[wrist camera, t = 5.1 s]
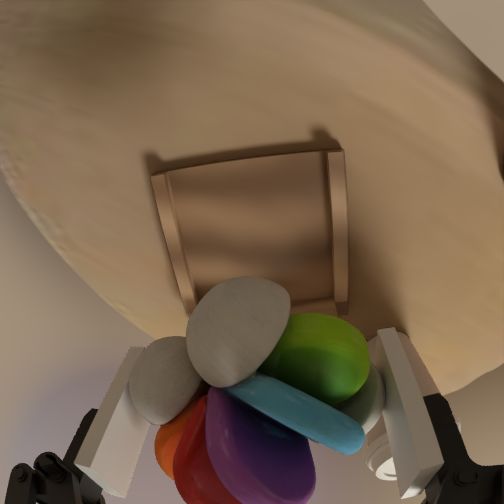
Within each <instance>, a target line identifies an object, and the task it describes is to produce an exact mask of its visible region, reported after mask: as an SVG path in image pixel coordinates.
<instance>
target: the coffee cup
mask: <svg viewBox="0 0 504 504" xmlns="http://www.w3.org/2000/svg"><path fill="white" fill-rule="evenodd" d="M396 332H397V331H396ZM397 334H398V337H399V339H400V341H401V344H402V346H403V349H404V351H405V353H406V356H407V358H408V361H409V363H410V366H411V368H412V371H413V373H414V376H415V379H416V381H417V384H418V386H419V389H420V392H421V394H422V397H423V396H427V395H431V394H435V393H440V392H439V390H438V388H437V386H436V384H435V382H434V381H433V379H432V377H431V375H430V373H429V372H428V370H427V368H426V366H425V365H424V363H423V361H422V359H421V358H420V356H419V354H418V352H417V351H416V349H415V347H414V346H413V344H412V342H411V341H410V339H409V337H408V336H407V335H405V334H404V333H401V332H397ZM376 339H377V336H375V337H373V338H372V339H370V340H369V341H368V342H367V345H368V349H369V354H370V361H371V362H372V363H373V364H374V356H375V348H376ZM440 394H441V393H440ZM452 415H453V414H452ZM453 416H454V418H455V421H456V424H457V426H458V429H459V431H460V432H461V422H460V419H459V417H457V416H456V415H453ZM367 443H368V447H367V449H366V450H365V452H364V456H363V457H364V460H365V462H366V464H367V466H368V467H369V468H370V469H371V470H372V471H374V472H375V475H376V476H377V477H378V478H379V479H382V480H397V477H396V472H395V467H394V462H393V457H392V452H391V447H390V443H389V438H388V434H387V430H386V425H385V421H384V417H383V413H382V414H381V416H380V418H379V419H378V421H377V423H376V424H375V425H374V427H373V428H372V429H371V430H370V431H369V432H368V433H367Z"/></svg>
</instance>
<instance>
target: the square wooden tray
mask: <svg viewBox="0 0 504 504" xmlns="http://www.w3.org/2000/svg"><path fill="white" fill-rule="evenodd" d="M151 182H152V186H153V190H154V195H155V199H156V203H157V207H158V212H159V216H160V220H161V224H162V228H163V231H164V235H165V239H166V243H167V247H168V250H169V254H170V258H171V261H172V265H173V269H174V272H175V276H176V279H177V283H178V286H179V290H180V293H181V296H182V300H183V303H184V306H185V309H186V313H188V315H189V318H190V316H191V314H192V313H193V311H194V309H195V307H196V306H197V305H198V303H199V302H200V300H201V299H202V298H203V297H204V296H205V295H206V294H207V293H208V292H209V291H210V290H211V289H212V288H213V287H214V286H216V285H217V284H219V283H221V282H223V281H225V280H228V279H231V278H236V277H242V276H254V277H260V278H264V279H268V280H270V281H273V282H275V283H277V284H279V285H280V286H282V287H283V288H284V289H285V290H286V291H287V292H288V294H289V296H290V304H291V307H290V313H289V315H294V314H299V313H321V314H327V315H331V316H335V317H338V316H340V315H348V294H349V235H348V203H347V183H346V167H345V153H344V149H342V148H340V149H326V150H313V151H302V152H292V153H282V154H273V155H264V156H256V157H248V158H240V159H233V160H226V161H219V162H213V163H206V164H200V165H194V166H188V167H182V168H177V169H171V170H166V171H161V172H155V173H153V174H152V176H151Z"/></svg>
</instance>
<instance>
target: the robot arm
mask: <svg viewBox="0 0 504 504" xmlns="http://www.w3.org/2000/svg"><path fill="white" fill-rule="evenodd" d="M144 350H145V347H130V349H129V351H128V353H127V354H126V357H125V358H124V360H123V362H122V364H121V366H120V368H119V370H118V372H117V374H116V376H115V378H114V380H113V382H112V383H111V386H110V387H109V389H108V392H107V394H106V395H105V398H104V399H103V402H102V403H101V406H100V408H99V409H93V408H92V409H91V410H90V411H89V412H88V413H87V414H86V415H85V416H84V418H83V420H82V422H81V424H80V427H79V428H78V430H77V432H76V435H75V436H74V438H73V440H72V442H71V444H70V446H69V449H68V450H67V453H66V455H65V457H64V459H63V461H62V460H61V459H60V458H59V457H58V456H57V455H56V454H55V453H52V452H44V453H42V454H40V455H39V456H38V457H37V458H36V460H35V462H34V466H33V468H34V469H36V470H33V469H32V468H31V467H30V466H29V465H28V464H25V463H20V464H18V465H16V466H15V467H14V468H13V469H12V472H11V474H10V479H9V484H8V488H7V493H6V498H5V504H36V502H37V503H39V504H105V500H104V498H103V496H102V495H101V492H102V489H104V490H105V491H106V492H108V493H109V494H110V495H114V496H118V497H122V498H125V497H126V494H127V491H128V488H129V485H130V482H131V479H132V476H133V473H134V470H135V466H136V464H137V460H138V457H139V455H140V452H141V449H142V446H143V443H144V440H145V437H146V434H147V431H148V428H149V425H150V423H148V422H147V421H146V420H145V419H144V418H143V417H142V416H141V415H140V414H139V412H138V411H137V409H136V408H135V406H134V404H133V402H132V400H131V397H130V392H129V375H130V372H131V369H132V367H133V365H134V363H135V362H136V360H137V359H138V357H139V356H140V355H141V353H142V352H143V351H144ZM374 365H375V366H376V367H377V369H378V370H379V372H380V374H381V376H382V379H383V381H384V385H385V404H384V408H383V411H382V413H383V417H384V421H385V425H386V430H387V434H388V438H389V443H390V447H391V452H392V457H393V462H394V467H395V472H396V477H397V482H398V487H399V493H400V498H401V499H403V498H407V497H411V496H415V495H419V494H421V493H422V491H423V490H424V489H425V492H426V498H425V499H424V500H423V501H422V503H421V504H504V465H494V466H481V465H478V464H476V463H475V462H473V461H472V460H471V459H470V458H469V456H468V454H467V451H466V448H465V446H464V442H463V440H462V437H461V434H460V431H459V429H458V426H457V424H456V421H455V418H454V416H453V415H452V411H451V409H450V406H449V404H448V401H447V400H446V399H445V398H444V397H443V396H442V395H441V394H440V393H435V394H431V395H427V396H423V397H422V394H421V392H420V389H419V386H418V384H417V381H416V379H415V376H414V373H413V371H412V368H411V366H410V363H409V361H408V358H407V356H406V353H405V351H404V349H403V346H402V344H401V341H400V339H399V337H398V334H397V332H396V330H395V327H392V328H385V329H379V330H377V339H376V348H375V356H374Z"/></svg>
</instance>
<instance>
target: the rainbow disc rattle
mask: <svg viewBox="0 0 504 504" xmlns="http://www.w3.org/2000/svg"><path fill="white" fill-rule="evenodd" d="M290 307H291V304H290V296H289V294H288V292H287V291H286V290H285V289H284V288H283V287H282V286H280V285H279V284H277V283H275V282H273V281H270V280H268V279H264V278H260V277H254V276H242V277H236V278H231V279H228V280H225V281H223V282H221V283H219V284H217V285H216V286H214V287H213V288H212V289H211V290H210V291H209V292H208V293H207V294H206V295H205V296H204V297H203V298H202V299H201V300H200V302H199V303H198V305H197V306H196V307H195V309H194V311H193V313H192V314H191V316H190V318H189V321H188V324H187V329H186V337H182V336H172V337H165V338H161V339H159V340H156V341H154V342H153V343H151V344H150V345H149V346H147V348H146V349H145V350H144V351H143V352H142V353H141V355H140V356H139V357H138V359H137V360H136V362H135V363H134V365H133V367H132V369H131V372H130V375H129V392H130V397H131V400H132V402H133V404H134V406H135V408H136V409H137V411H138V412H139V414H140V415H141V416H142V417H143V418H144V419H145V420H146V421H147V422H148V423H150V424H152V425H160V426H161V427H160V429H159V431H158V432H157V435H156V439H155V455H156V459H157V461H158V464H159V465H160V467H161V468H162V470H163V471H164V472H165V473H166V474H167V475H168V476H169V477H170V478H171V479H173V480H175V484H176V487H177V489H178V491H179V493H180V495H181V497H182V498H183V500H184V501H185V502H186V503H187V504H306V502H307V501H308V500H309V499H310V498H311V496H312V494H313V492H314V490H315V484H316V473H315V466H314V462H313V458H312V454H311V451H310V447H309V442H308V438H309V439H310V440H311V441H313V442H316V443H318V444H321V445H325V446H327V447H329V448H331V449H334V450H335V451H338V452H340V453H342V454H346V455H349V454H353V453H355V452H356V451H358V450H359V449H360V448H361V446H362V445H363V443H364V440H365V434H366V433H368V432H369V431H370V430H371V429H372V428H373V427H374V425H375V424H376V423H377V421H378V419H379V418H380V416H381V414H382V411H383V408H384V404H385V385H384V381H383V379H382V376H381V374H380V372H379V370H378V369H377V367H376V366H375V365H374V364H373V363H372V362H371V361H370V354H369V349H368V345H367V342H366V340H365V338H364V336H363V335H362V333H361V332H360V331H359V330H358V329H357V328H355V327H354V326H353V325H351V324H350V323H348V322H347V321H345V320H342V319H340V318H338V317H335V316H331V315H327V314H321V313H299V314H294V315H289V313H290Z"/></svg>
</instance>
